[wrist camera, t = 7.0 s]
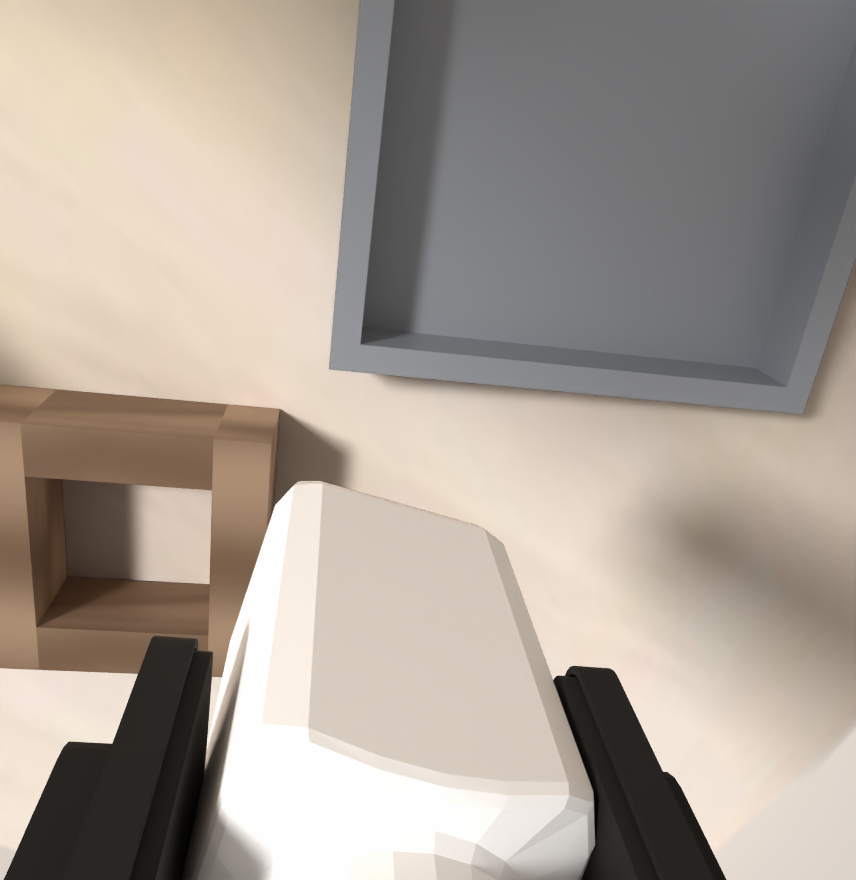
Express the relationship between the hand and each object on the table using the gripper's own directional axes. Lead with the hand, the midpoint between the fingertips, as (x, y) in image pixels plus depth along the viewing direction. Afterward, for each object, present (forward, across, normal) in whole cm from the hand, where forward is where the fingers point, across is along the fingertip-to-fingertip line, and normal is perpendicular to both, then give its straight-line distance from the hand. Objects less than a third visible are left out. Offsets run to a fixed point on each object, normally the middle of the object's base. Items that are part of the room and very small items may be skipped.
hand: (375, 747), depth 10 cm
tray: (+21, -8, -8) cm, 24 cm away
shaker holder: (+21, +8, +9) cm, 24 cm away
